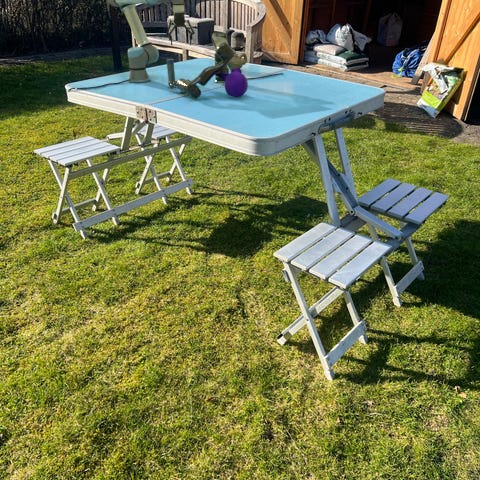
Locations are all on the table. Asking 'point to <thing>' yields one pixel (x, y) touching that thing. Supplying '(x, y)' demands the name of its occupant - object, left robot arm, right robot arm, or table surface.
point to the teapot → (237, 61)
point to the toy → (234, 82)
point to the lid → (170, 61)
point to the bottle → (171, 73)
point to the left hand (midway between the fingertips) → (181, 45)
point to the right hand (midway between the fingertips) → (176, 81)
